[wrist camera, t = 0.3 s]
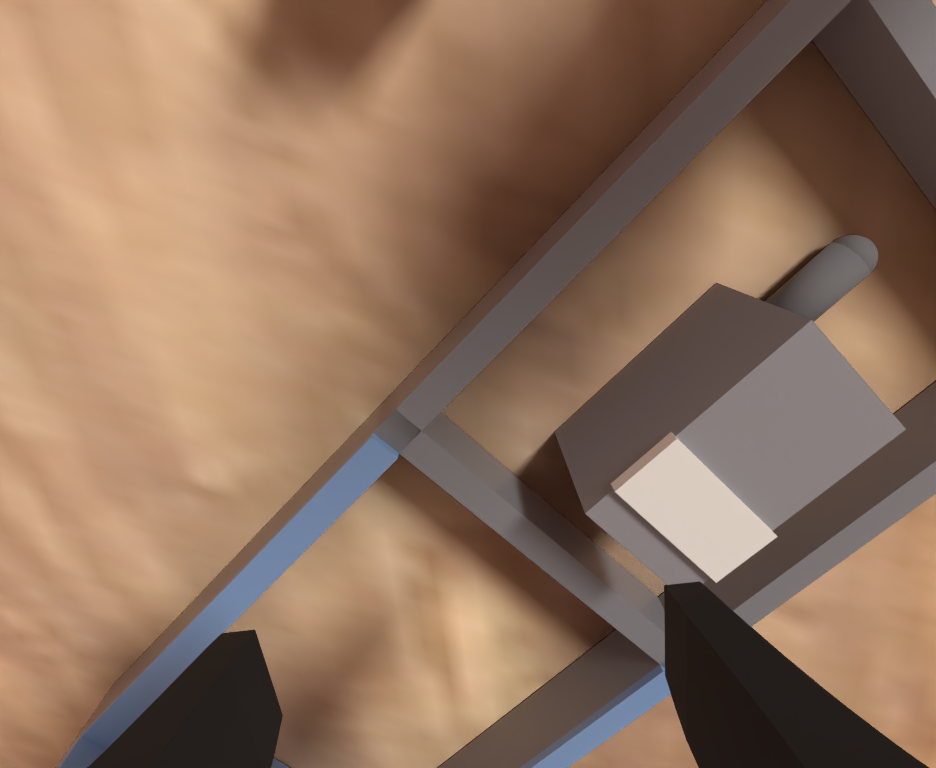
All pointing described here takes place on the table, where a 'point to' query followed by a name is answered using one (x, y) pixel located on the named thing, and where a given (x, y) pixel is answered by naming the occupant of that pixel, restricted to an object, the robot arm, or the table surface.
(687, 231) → the table surface
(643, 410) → the cord plug
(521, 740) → the grey divided rectangular frame
